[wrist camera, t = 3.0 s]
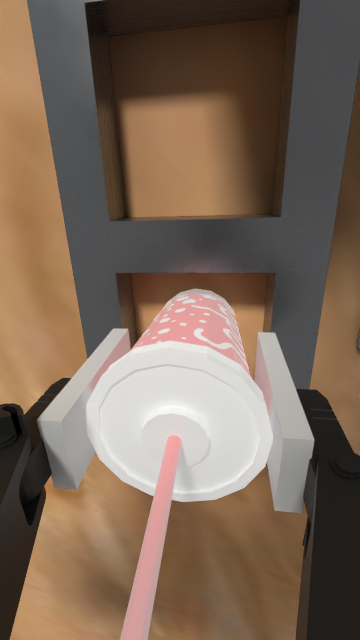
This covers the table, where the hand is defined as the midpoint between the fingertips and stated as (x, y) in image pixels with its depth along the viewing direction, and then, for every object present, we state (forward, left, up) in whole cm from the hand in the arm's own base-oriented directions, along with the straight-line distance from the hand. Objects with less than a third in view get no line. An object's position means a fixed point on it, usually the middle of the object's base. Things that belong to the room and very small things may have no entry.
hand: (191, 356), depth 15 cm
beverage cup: (0, 0, -4) cm, 4 cm away
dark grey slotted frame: (-5, 0, -4) cm, 6 cm away
